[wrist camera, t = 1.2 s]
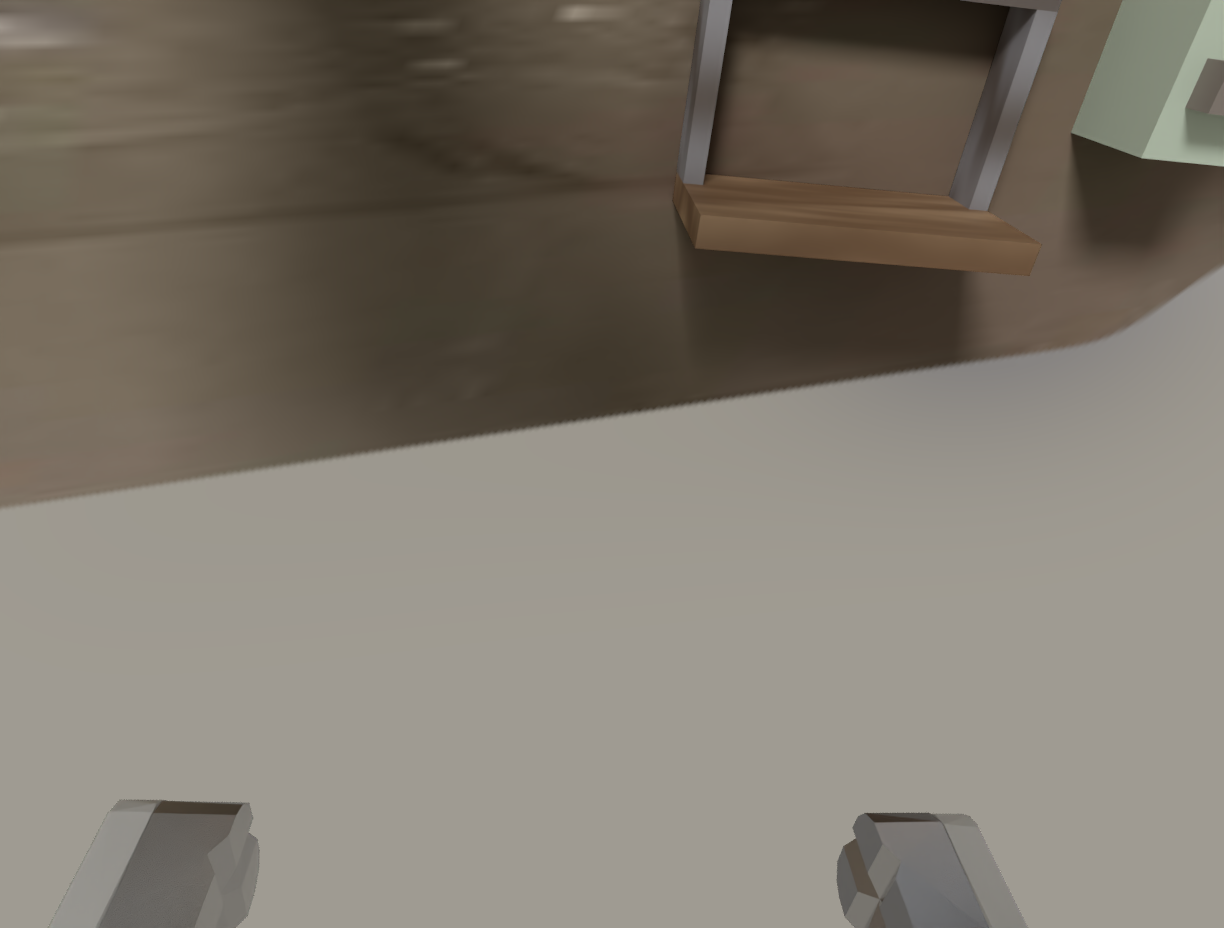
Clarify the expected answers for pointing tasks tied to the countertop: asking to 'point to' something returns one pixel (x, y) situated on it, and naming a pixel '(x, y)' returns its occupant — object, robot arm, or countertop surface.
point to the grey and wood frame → (858, 216)
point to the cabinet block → (1160, 83)
